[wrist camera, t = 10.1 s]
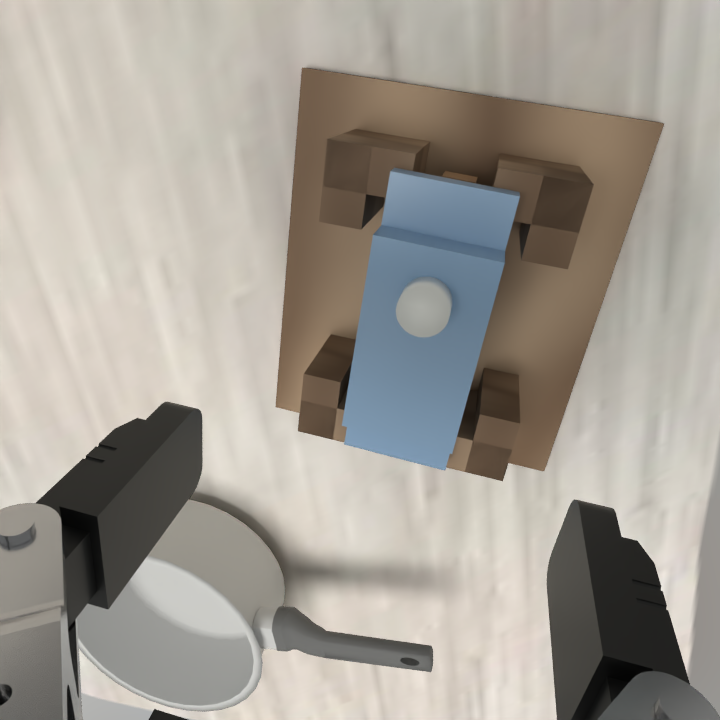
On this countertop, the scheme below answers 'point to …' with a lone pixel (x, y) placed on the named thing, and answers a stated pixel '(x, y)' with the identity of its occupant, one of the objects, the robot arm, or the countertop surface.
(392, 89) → the cradle
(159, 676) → the saucepan
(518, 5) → the countertop surface
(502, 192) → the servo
